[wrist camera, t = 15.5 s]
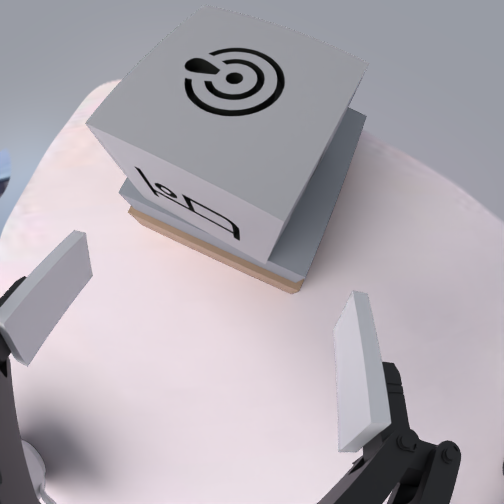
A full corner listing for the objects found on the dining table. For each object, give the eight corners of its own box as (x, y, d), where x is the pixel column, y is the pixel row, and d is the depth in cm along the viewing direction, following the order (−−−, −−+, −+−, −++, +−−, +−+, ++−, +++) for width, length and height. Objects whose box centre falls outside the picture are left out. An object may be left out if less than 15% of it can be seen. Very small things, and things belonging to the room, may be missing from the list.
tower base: (347, 156, 31) (372, 114, 24) (291, 294, 28) (309, 287, 21) (214, 102, 32) (208, 54, 24) (141, 224, 29) (110, 195, 22)
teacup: (89, 520, 22) (56, 561, 12) (1, 471, 22) (-40, 493, 12) (87, 451, 24) (40, 488, 15) (-6, 400, 25) (-58, 414, 15)
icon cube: (144, 197, 22) (85, 123, 12) (215, 99, 23) (204, 4, 14) (265, 264, 21) (284, 221, 11) (326, 151, 23) (369, 63, 13)
